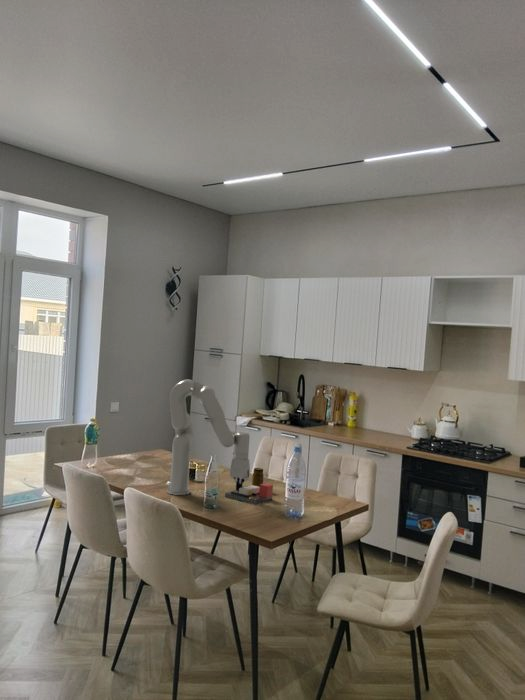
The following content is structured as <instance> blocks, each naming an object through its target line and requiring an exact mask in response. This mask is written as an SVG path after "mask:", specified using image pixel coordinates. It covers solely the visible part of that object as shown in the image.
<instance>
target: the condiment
mask: <svg viewBox="0 0 525 700" xmlns="http://www.w3.org/2000/svg"><path fill="white" fill-rule="evenodd" d="M260 484H264V468H262V467H255V468H253V473H252V480H251V485H254V486H258V487H260Z"/></svg>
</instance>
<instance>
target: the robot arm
mask: <svg viewBox="0 0 525 700" xmlns="http://www.w3.org/2000/svg"><path fill="white" fill-rule="evenodd" d="M189 396H191V397H192V398H196V399H198V400H199V402H200V403H201V406H202V407H203V409H204V412H205V413H206V416H207V418H208V419H209V423H210V424H211V426H212V429H213V432H214V433H215V435H216V437H217V439H218V441H219V443H220V445H221V446H222V447H224V448H230V447H231V448H232V447H233V445H234V452H232V455H233V457H232V459H231V462H230V463H231V464H230V470H229V475H230V477H231V478H232V479H233V480H234V482H235V484H236V485H235V490H236V491H239V488H242V487H243V485H244V484H243V483H245V482H248V481H249V480H250V471H251V470H250V469H251V466H250V459H249V454H250V453H249V452H250V450H249V449H250V434H249V433H248V432H244V431H243V432H242V431H241V432H238V431H237V432H236V431H232V430H230V428H229V426H228V424H227V420H226V417H225V412H224V410H223V408H222V406H221V404H220V402H219V401H218V397H217V396H216V391H215V389H214V388H213V387H212V386H210V385H206V384H204V383H200V382H199V381H196V380H192V379H186V378H185V379H183V380H181V381H179V382H177V383H176V384H175V385H174V386H173V387H172V388H171V390H170V394H169V409H170V419H171V426H172V428H173V429H174V432H175V433H174V434H175V436H174V437H173V440H172V443H171V445H172V446H171V447H172V448H171V451H172V452H171V453H172V454H171V467H170V468H171V469H170V480H169V481H167V482H166V483H165V484H164V485H165V486H166V487H168V488H167V489H166V492H167V494H169V495H172V494H173V495H174V496H187V495H189V493H190V492H192V491H191V489H189V479H190V478H189V477H190V462H191V461H190V460H191V448H192V447H191V446H192V445H193V442H194V435H193V425H192V418H191V415H190V414H189V413H188V410H187V402H186V401H187V400H186V398H187V397H189ZM186 494H187V495H186ZM190 494H191V493H190Z"/></svg>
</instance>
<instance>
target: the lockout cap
mask: <svg viewBox="0 0 525 700" xmlns="http://www.w3.org/2000/svg"><path fill="white" fill-rule="evenodd" d="M273 489H274V486H273V484H271V483H266V482H265V483H264V482H263V484H260V490H259V496H261V497H265V498H268V497H271V496H272V497H273Z"/></svg>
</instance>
